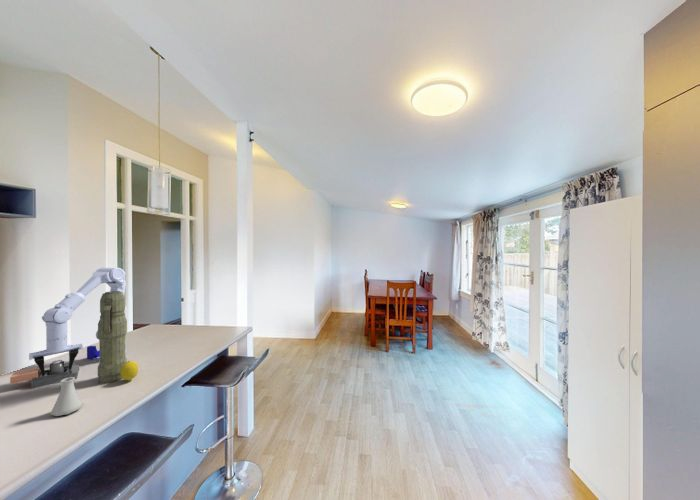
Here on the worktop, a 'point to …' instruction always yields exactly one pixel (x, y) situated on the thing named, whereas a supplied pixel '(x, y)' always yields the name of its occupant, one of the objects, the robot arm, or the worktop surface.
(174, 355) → the worktop surface
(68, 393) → the flask
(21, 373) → the orange square block
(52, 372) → the plug
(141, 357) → the worktop surface
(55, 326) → the robot arm
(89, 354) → the blue notched block
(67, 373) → the socket plate
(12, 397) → the worktop surface
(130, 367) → the lemon
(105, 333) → the green stone statue
